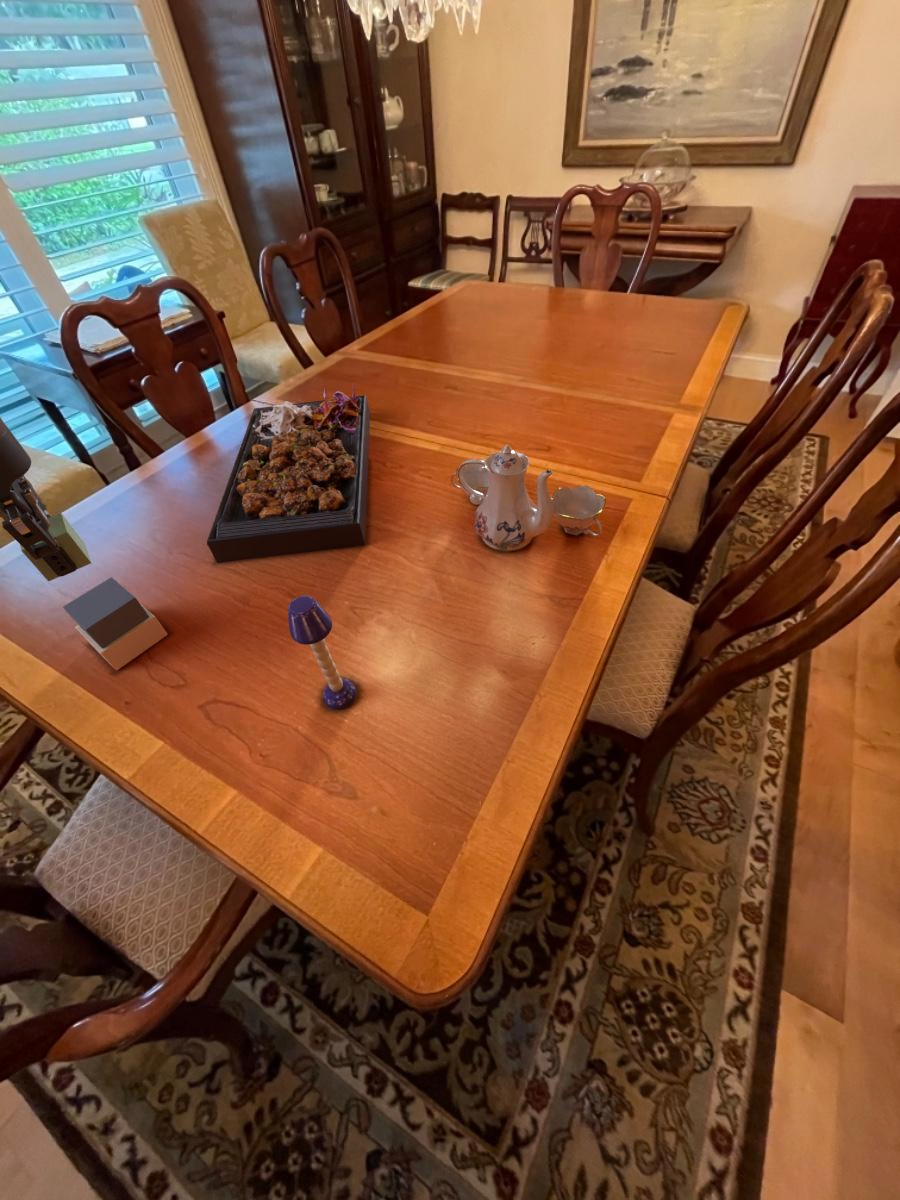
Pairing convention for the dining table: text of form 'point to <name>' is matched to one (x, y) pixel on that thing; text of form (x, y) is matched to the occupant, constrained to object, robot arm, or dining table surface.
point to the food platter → (297, 481)
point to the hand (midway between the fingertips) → (64, 559)
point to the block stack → (115, 623)
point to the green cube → (68, 543)
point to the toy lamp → (319, 647)
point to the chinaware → (522, 501)
